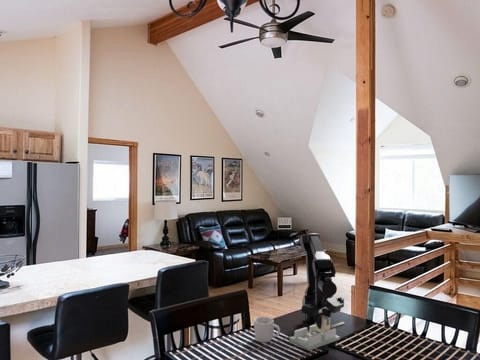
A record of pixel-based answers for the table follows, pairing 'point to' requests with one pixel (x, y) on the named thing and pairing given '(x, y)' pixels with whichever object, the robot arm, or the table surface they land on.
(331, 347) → the table surface
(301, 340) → the board
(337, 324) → the lead
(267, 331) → the cup
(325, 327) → the plug
